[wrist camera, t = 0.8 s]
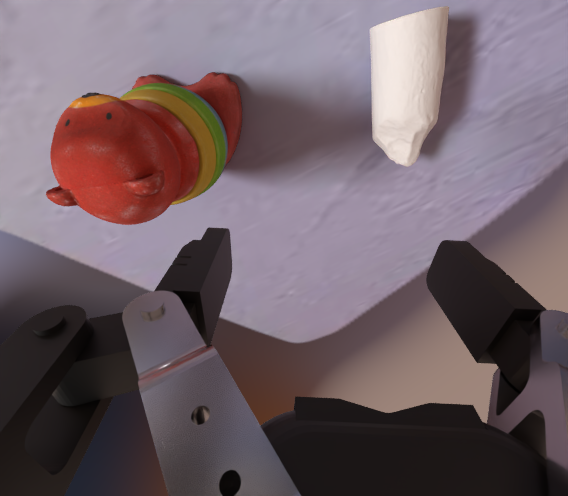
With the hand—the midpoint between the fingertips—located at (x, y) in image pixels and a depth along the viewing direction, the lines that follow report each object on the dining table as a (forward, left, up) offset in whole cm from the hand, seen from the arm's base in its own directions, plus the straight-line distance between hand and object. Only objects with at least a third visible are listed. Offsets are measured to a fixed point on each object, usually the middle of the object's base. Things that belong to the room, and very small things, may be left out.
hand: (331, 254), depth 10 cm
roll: (-4, +9, -23) cm, 25 cm away
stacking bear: (-1, -12, -22) cm, 26 cm away
